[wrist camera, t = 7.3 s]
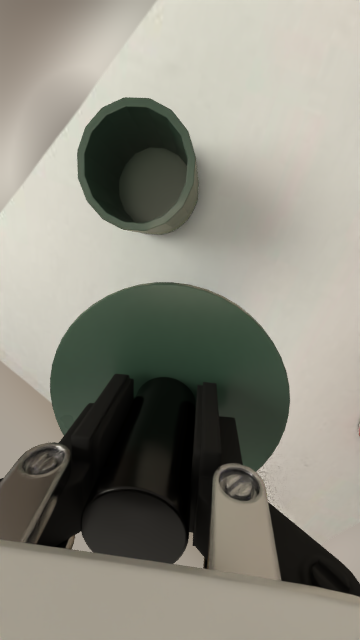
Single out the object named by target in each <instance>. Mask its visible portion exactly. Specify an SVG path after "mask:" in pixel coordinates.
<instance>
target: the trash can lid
mask: <svg viewBox="0 0 360 640" xmlns="http://www.w3.org/2000/svg"><path fill="white" fill-rule="evenodd" d="M114 374H126V375H129V377H130V378H131V379H134V400H133V402H132V405H131V407H130V409H129V411H128V413H127V415H126V418H125V420H124V422H123V424H122V426H121V428H120V430H119V433H118V435H117V437H116V439H115V441H114V443H113V446H112V448H111V450H110V452H109V454H108V456H107V458H106V461H105V463H104V465H103V467H102V469H101V471H100V474H99V476H98V478H97V480H96V482H95V484H94V486H93V489H92V491H91V493H90V495H89V497H88V499H87V502H86V504H85V506H84V508H83V511H82V514H81V524H80V526H81V532H82V535H83V538H84V540H85V542H86V544H87V545H88V547H89V548H90V549H91V550H92V552H93V553H99V554H106V555H113V556H120V557H127V558H134V559H141V560H148V561H155V562H162V563H169V564H173V563H175V562H176V561H177V560H178V559H179V558H180V557H181V556H182V554H183V552H184V551H185V549H186V546H187V543H188V539H189V523H190V506H191V472H192V456H193V441H194V425H195V410H196V397H197V386H198V385H203V382H210V383H216V385H217V399H218V412H219V416H223V417H233V418H235V421H236V426H237V432H238V438H239V444H240V450H241V456H242V462H243V465H245V466H247V467H249V468H251V469H253V470H254V471H255V472H256V471H257V470H258V469H259V468H261V467H262V466H263V465H264V463H265V462H266V461H267V460H268V459H269V457H270V456H271V455H272V453H273V452H274V450H275V449H276V447H277V445H278V444H279V442H280V439H281V437H282V435H283V432H284V430H285V426H286V423H287V419H288V414H289V405H290V393H289V383H288V378H287V373H286V370H285V367H284V364H283V361H282V358H281V356H280V354H279V352H278V350H277V349H276V347H275V345H274V343H273V342H272V340H271V339H270V337H269V336H268V335H267V333H266V332H265V330H264V329H263V328H262V326H261V325H260V324H259V323H258V322H257V321H256V320H255V319H254V318H253V317H252V316H251V315H250V314H248V313H247V312H246V311H245V310H243V309H242V308H241V307H239V306H238V305H237V304H235V303H233V302H232V301H230V300H228V299H227V298H225V297H223V296H221V295H219V294H216V293H214V292H212V291H209V290H207V289H203V288H200V287H196V286H193V285H188V284H180V283H173V282H155V283H148V284H140V285H136V286H132V287H129V288H125V289H122V290H120V291H117V292H115V293H113V294H110V295H108V296H106V297H105V298H103V299H101V300H100V301H98V302H96V303H95V304H93V305H92V306H90V307H89V308H88V309H87V310H86V311H84V312H83V313H82V314H81V315H80V316H79V317H78V318H77V319H76V320H75V321H74V322H73V324H72V325H71V326H70V327H69V329H68V330H67V332H66V333H65V335H64V336H63V338H62V340H61V342H60V344H59V346H58V348H57V351H56V354H55V357H54V361H53V364H52V370H51V377H50V393H51V400H52V406H53V410H54V413H55V417H56V420H57V422H58V425H59V427H60V429H61V431H62V433H63V435H65V434H66V433H67V431H68V430H69V429H70V427H71V426H72V424H73V423H74V422H75V420H76V419H77V418H78V416H79V415H80V414H81V412H82V411H83V410H84V408H85V407H86V406H87V405H88V404H89V403H95V401H96V400H97V398H98V397H99V396H100V394H101V393H102V391H103V390H104V388H105V387H106V386H107V384H108V383H109V381H110V380H111V379H112V377H113V376H114Z"/></svg>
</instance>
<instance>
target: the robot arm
mask: <svg viewBox="0 0 360 640" xmlns="http://www.w3.org/2000/svg"><path fill="white" fill-rule="evenodd" d="M133 400H134V379H131V378H130V377H129V375H126V374H114V376H113V377H112V379H111V380H110V381H109V383H108V384H107V386H106V387H105V388H104V390H103V391H102V393H101V394H100V396H99V397H98V398H97V400H96V401H95V403H89V404H88V405H87V406H86V407H85V408H84V410H83V411H82V412H81V414H80V415H79V416H78V418H77V419H76V420H75V422H74V423H73V424H72V426H71V427H70V429H69V430H68V431H67V433H66V434H65V435H64V437H63V438H62V439H61V441H60V442H59V443H45V444H41V445H38V446H35V447H33V448H31V449H30V450H28V451H26V452H25V453H24V454H23V455H22V456H21V457H20V458H19V459H18V461H17V462H16V463H15V464H14V466H13V467H12V468H11V469H10V471H9V472H8V473H7V475H6V476H5V477H4V478H2V479H0V640H360V584H359V582H358V581H357V579H356V578H355V576H354V575H353V574H352V573H351V571H350V570H349V569H348V568H346V567H345V565H344V564H342V563H341V562H340V561H339V560H338V559H337V558H335V557H334V556H333V555H332V554H331V553H329V552H328V551H327V550H326V549H324V548H323V547H322V546H321V545H320V544H318V543H317V542H316V541H315V540H314V539H312V538H311V537H310V536H309V535H307V534H306V533H305V532H304V531H303V530H301V529H300V528H299V527H298V526H297V525H295V524H294V523H293V522H292V521H290V520H289V519H288V518H287V517H286V516H284V515H283V514H282V513H281V512H280V511H278V510H277V509H276V508H275V507H274V506H272V505H271V504H270V503H269V502H268V499H267V493H266V487H265V484H264V481H263V480H262V478H261V477H260V476H259V474H258V473H256V472H255V471H254V470H253V469H251V468H249V467H247V466H245V465H243V462H242V456H241V450H240V444H239V438H238V432H237V426H236V421H235V418H233V417H223V416H219V412H218V399H217V385H216V383H210V382H203V385H198V386H197V397H196V410H195V425H194V441H193V456H192V472H191V506H190V523H189V532H193V546H196V548H197V549H198V550H199V551H200V552H201V554H202V555H203V556H204V567H203V569H202V568H195V567H188V566H182V565H175V564H169V563H162V562H155V561H148V560H141V559H134V558H127V557H120V556H113V555H106V554H99V553H92V552H85V551H78V550H71V549H72V546H73V543H74V538H75V534H77V533H79V532H80V531H81V526H80V524H81V514H82V511H83V508H84V506H85V504H86V502H87V499H88V497H89V495H90V493H91V491H92V489H93V486H94V484H95V482H96V480H97V478H98V476H99V474H100V471H101V469H102V467H103V465H104V463H105V461H106V458H107V456H108V454H109V452H110V450H111V448H112V446H113V443H114V441H115V439H116V437H117V435H118V433H119V430H120V428H121V426H122V424H123V422H124V420H125V418H126V415H127V413H128V411H129V409H130V407H131V405H132V402H133Z"/></svg>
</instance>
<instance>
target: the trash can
mask: <svg viewBox="0 0 360 640" xmlns="http://www.w3.org/2000/svg"><path fill="white" fill-rule="evenodd" d="M77 159H78V179H79V182H80V184H81V187H82V190H83V192H84V195H85V197H86V200H87V201H88V203H89V204H90V205H91V206H92V207H93V208H94V210H95V211H96V212H97V213H98V214H99V215H100V217H101V218H102V219H104V220H105V221H107V222H109V223H111V224H113V225H115V226H117V227H119V228H121V229H124V230H129V231H135V232H140V233H146V234H159V235H162V234H165V233H169V232H171V231H174V230H176V229H178V228H179V227H180V226H181V225H183V224H184V223H185V222H186V221H187V220H188V219H189V217H190V216H191V214H192V212H193V210H194V208H195V206H196V203H197V200H198V187H199V180H198V172H197V164H196V157H195V153H194V150H193V146H192V143H191V139H190V136H189V132H188V130H187V129H186V128H185V127H184V125H183V124H182V123H181V121H180V120H179V119H178V118H177V116H176V115H175V114H174V112H173V111H172V110H170V109H169V108H167V107H165V106H163V105H161V104H159V103H157V102H156V101H154V100H152V99H150V98H126V97H125V98H122V99H120V100H118V101H116V102H113V103H111V104H109V105H107V106H105V107H103V108H101V110H100V111H99V112H98V113H97V114H96V115H95V117H94V118H93V119H92V120H91V121H90V122H89V124H88V125H87V126H86V127H85V130H84V133H83V136H82V139H81V142H80V145H79V148H78V152H77Z"/></svg>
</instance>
